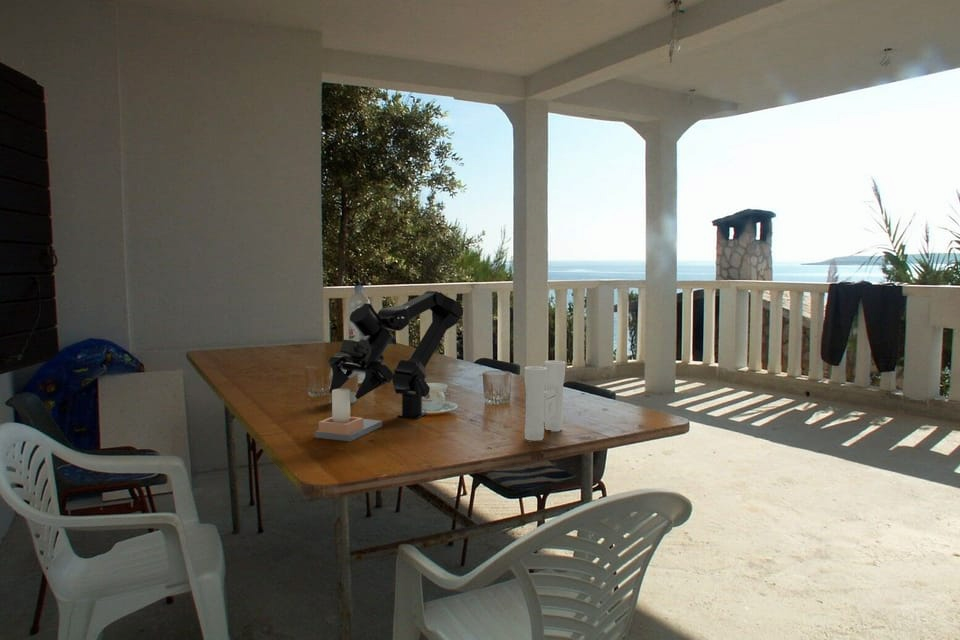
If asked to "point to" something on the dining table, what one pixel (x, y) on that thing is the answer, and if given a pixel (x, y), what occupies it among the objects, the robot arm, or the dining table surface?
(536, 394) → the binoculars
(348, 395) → the candle
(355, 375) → the coffee cup
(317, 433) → the candle stand
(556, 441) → the dining table surface
